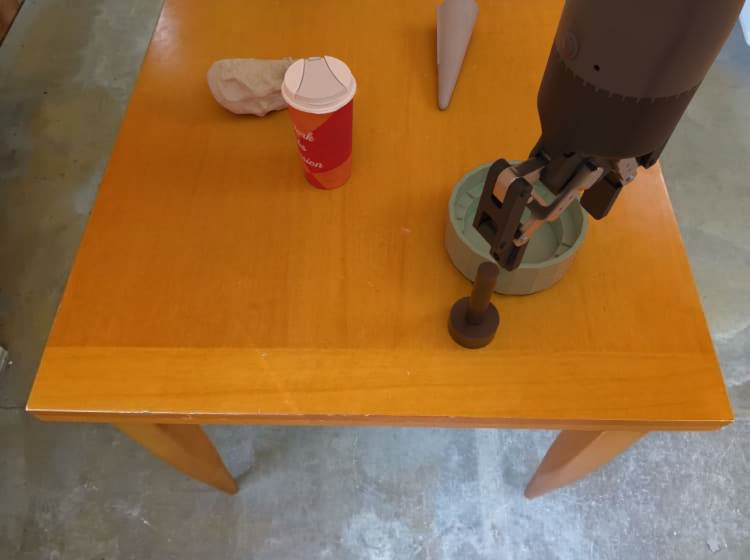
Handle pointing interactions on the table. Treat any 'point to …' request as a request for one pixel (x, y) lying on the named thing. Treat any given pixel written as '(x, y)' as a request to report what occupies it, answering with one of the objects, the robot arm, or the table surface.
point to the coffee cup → (322, 118)
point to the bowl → (543, 253)
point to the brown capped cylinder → (476, 311)
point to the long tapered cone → (452, 43)
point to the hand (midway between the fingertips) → (549, 235)
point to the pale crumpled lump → (249, 84)
